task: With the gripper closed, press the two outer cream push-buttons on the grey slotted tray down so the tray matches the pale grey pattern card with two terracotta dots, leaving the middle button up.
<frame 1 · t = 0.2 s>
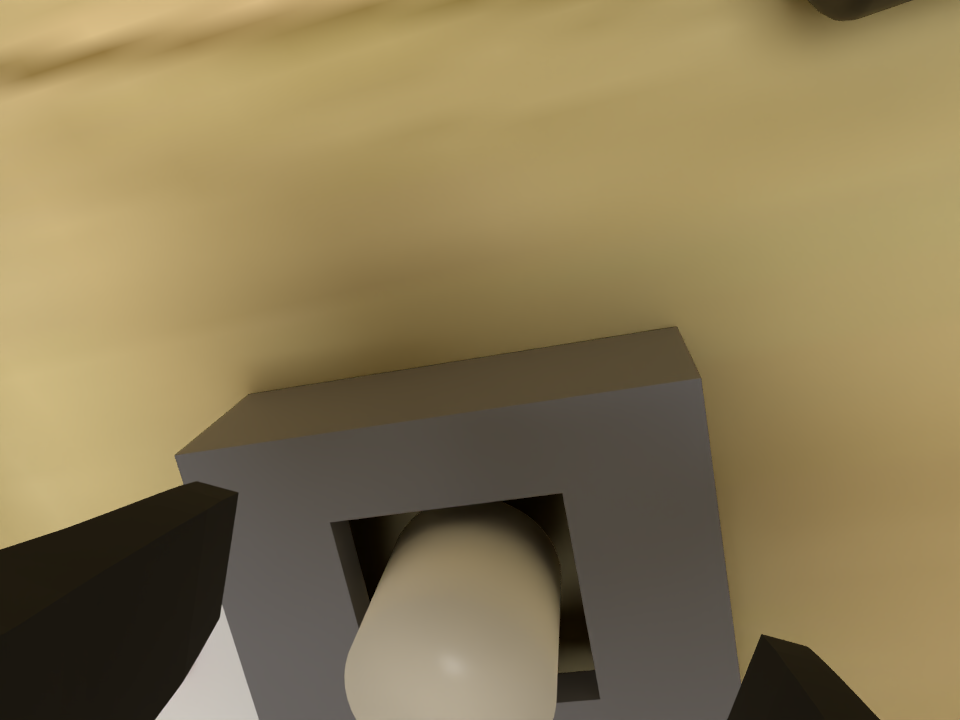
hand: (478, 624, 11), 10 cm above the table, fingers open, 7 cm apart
button c: (463, 626, 17), point 4 cm above the table, slide at 0.0 cm
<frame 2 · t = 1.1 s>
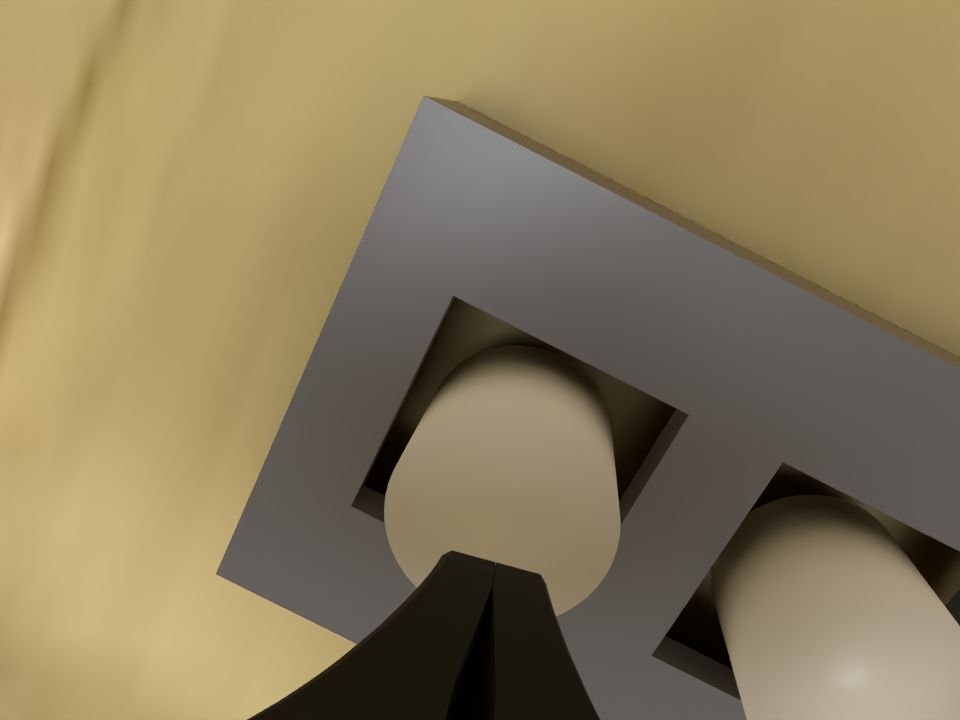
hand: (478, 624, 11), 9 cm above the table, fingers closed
grey slotted tray: (778, 523, 20), on the table
button b: (832, 634, 16), point 4 cm above the table, slide at 0.0 cm
button c: (510, 473, 15), point 4 cm above the table, slide at 0.0 cm
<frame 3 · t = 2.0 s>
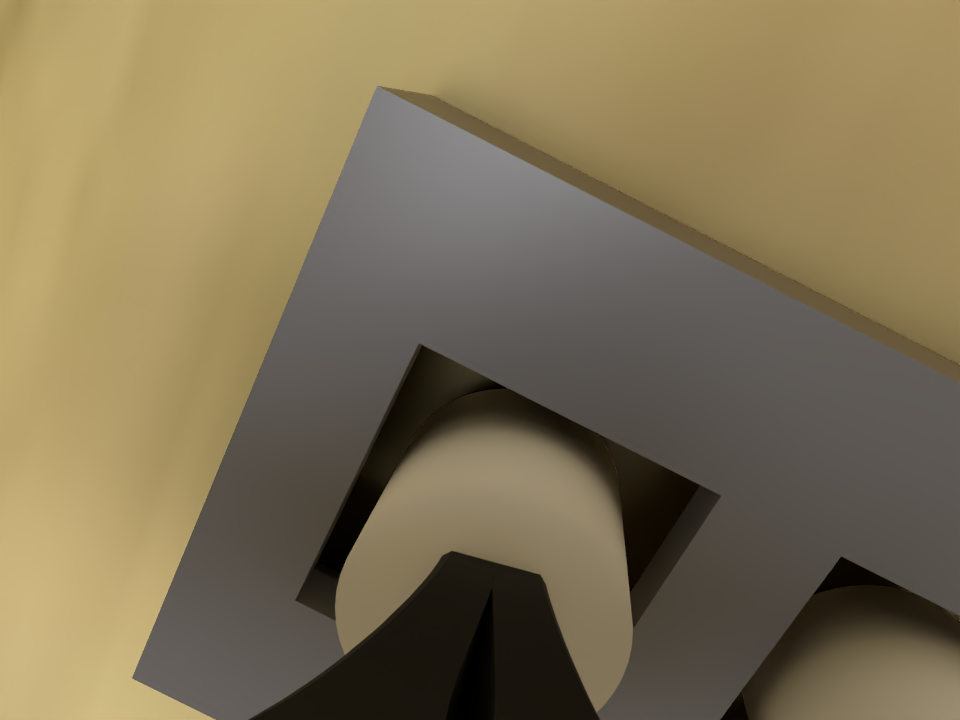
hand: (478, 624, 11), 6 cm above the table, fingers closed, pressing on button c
grey slotted tray: (819, 604, 16), on the table
button c: (496, 549, 13), point 4 cm above the table, slide at 0.5 cm, touching gripper
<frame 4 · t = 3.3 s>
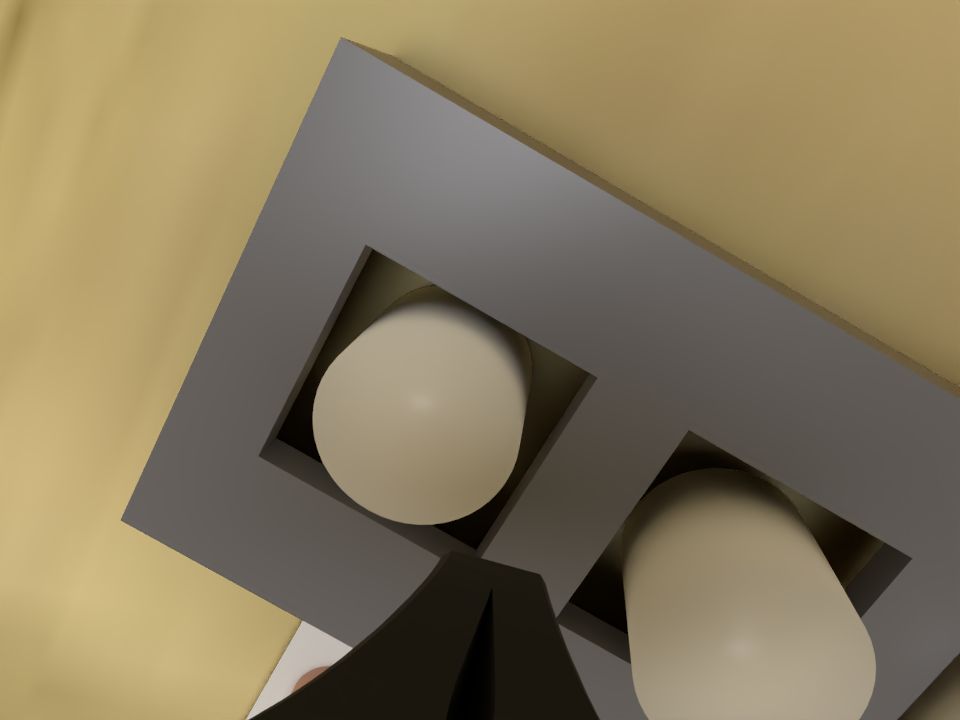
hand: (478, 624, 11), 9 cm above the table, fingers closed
grey slotted tray: (697, 501, 20), on the table
button b: (730, 605, 16), point 4 cm above the table, slide at 0.0 cm
button c: (433, 395, 17), point 3 cm above the table, slide at 1.9 cm
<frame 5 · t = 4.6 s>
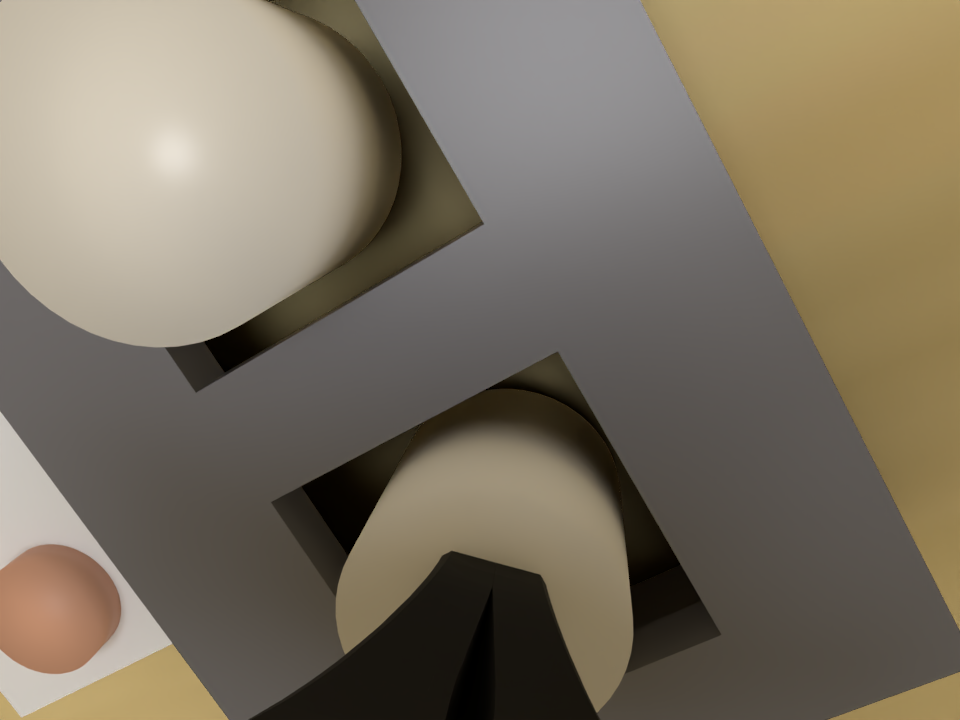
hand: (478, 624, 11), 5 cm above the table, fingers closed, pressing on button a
grey slotted tray: (323, 146, 15), on the table
button b: (215, 156, 10), point 4 cm above the table, slide at 0.0 cm
button a: (496, 549, 13), point 3 cm above the table, slide at 1.0 cm, touching gripper
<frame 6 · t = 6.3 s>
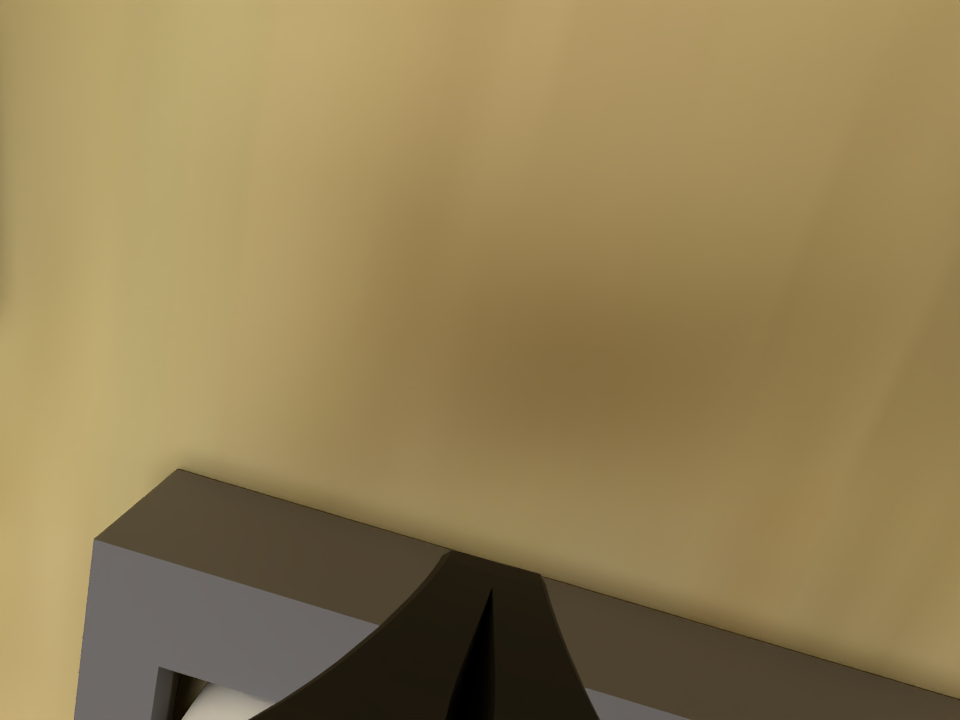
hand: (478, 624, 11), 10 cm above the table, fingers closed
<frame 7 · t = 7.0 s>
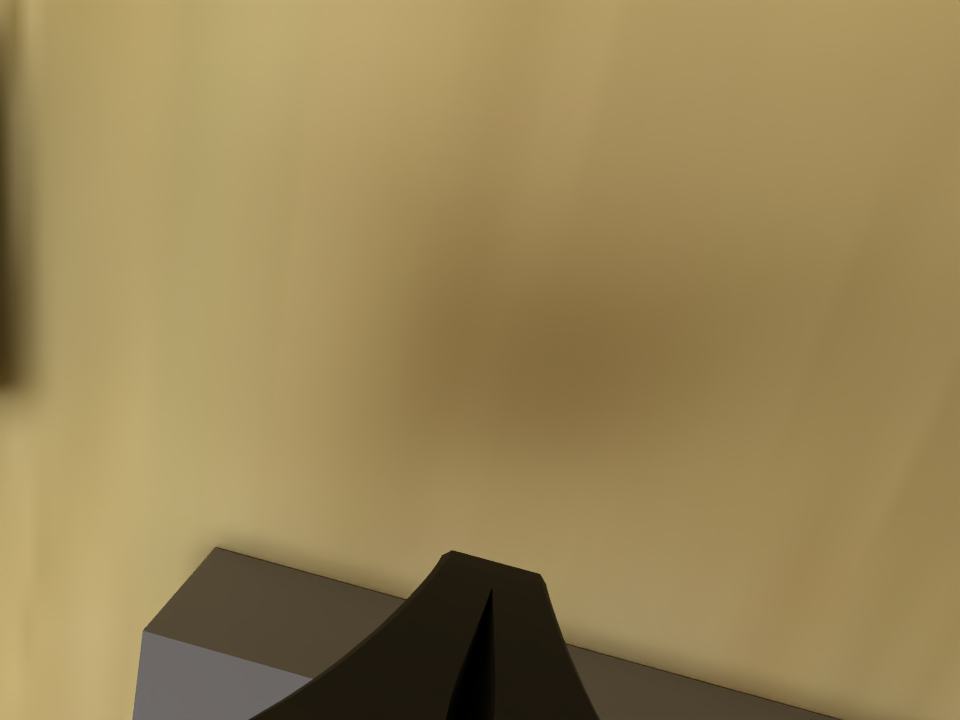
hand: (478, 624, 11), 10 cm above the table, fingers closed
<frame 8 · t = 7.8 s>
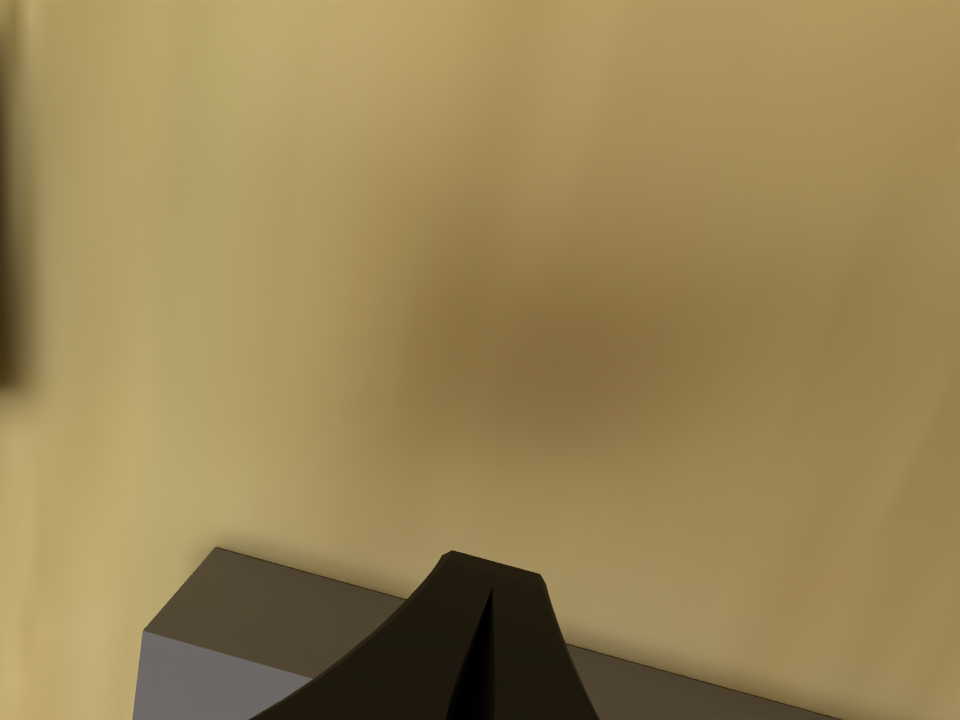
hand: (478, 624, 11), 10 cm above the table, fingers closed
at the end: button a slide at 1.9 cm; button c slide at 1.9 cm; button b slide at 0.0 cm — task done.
